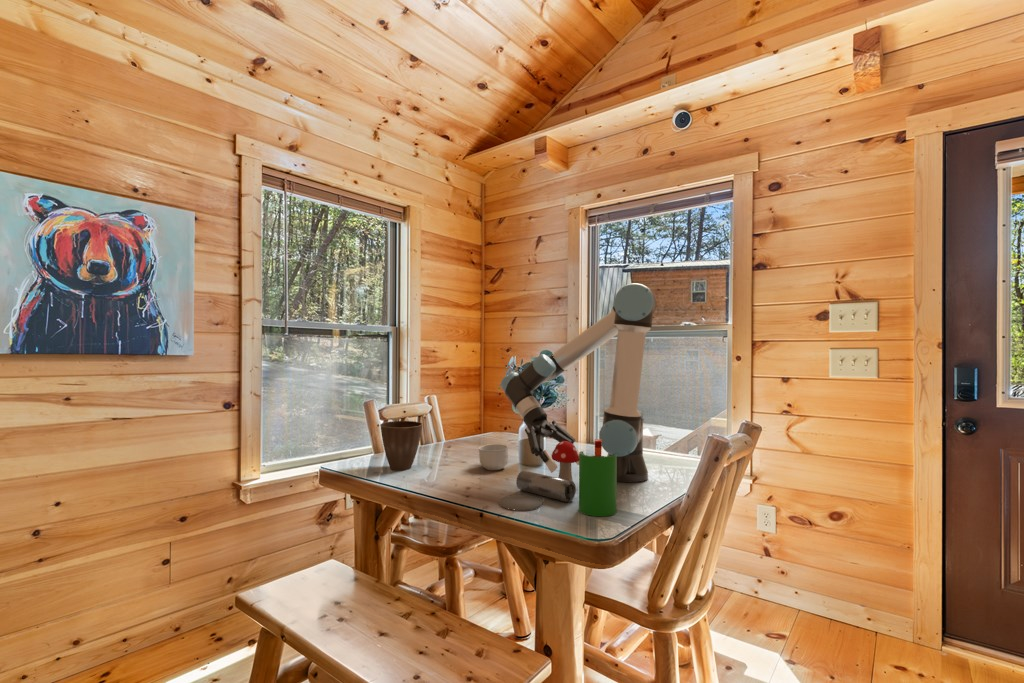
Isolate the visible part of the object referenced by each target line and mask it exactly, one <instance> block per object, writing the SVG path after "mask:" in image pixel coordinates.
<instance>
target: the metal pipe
mask: <svg viewBox="0 0 1024 683" xmlns="http://www.w3.org/2000/svg"><path fill="white" fill-rule="evenodd" d="M516 487H517V489H519V491H524V492H526V493H531V494H534V495H538V496H543V497H546V498H549V499H550V498H551V499H553V500H557V501H561V502H564V503H571V502H572V501H573V500H574V499H575V496H576V493H577V492H576V491H577V490H576V489H577V488H576V484H575V482H574V481H573V482H572V481H568V480H564V479H560V478H558V477H554V476H551V475H547V474H543V473H542V474H541V473H537V472H534V471H533V472H532V471H529V470H521V471H519V473H518V474H517V477H516Z"/></svg>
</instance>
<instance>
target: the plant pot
mask: <svg viewBox="0 0 1024 683" xmlns="http://www.w3.org/2000/svg"><path fill="white" fill-rule="evenodd" d="M422 430H423V423H422V422H419V421H413V420H395V421H394V420H393V421H387V422H382V423H381V424H380V434H381V438H382V444H383V445H382V446H383V449H384V452H385V457H386V460H387V463H388V466H389V468H390V469H391V470H394V471H407V470H411V468H412V466H413V464H414V461H415V458H416V455H417V451H418V449H419V445H420V440H421V437H422Z"/></svg>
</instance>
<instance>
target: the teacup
mask: <svg viewBox="0 0 1024 683" xmlns="http://www.w3.org/2000/svg"><path fill="white" fill-rule="evenodd" d="M478 453H479V456H478V457H479V463H480V465H481V466H482V467H483V468H484V469H485V470H488V471H500V470H502V469H504V468H505V467H506V466H507V465H508V464H509V446H508V445H507V444H501V443H492V444H491V443H485V444H484V445H481V446H479V447H478Z"/></svg>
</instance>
